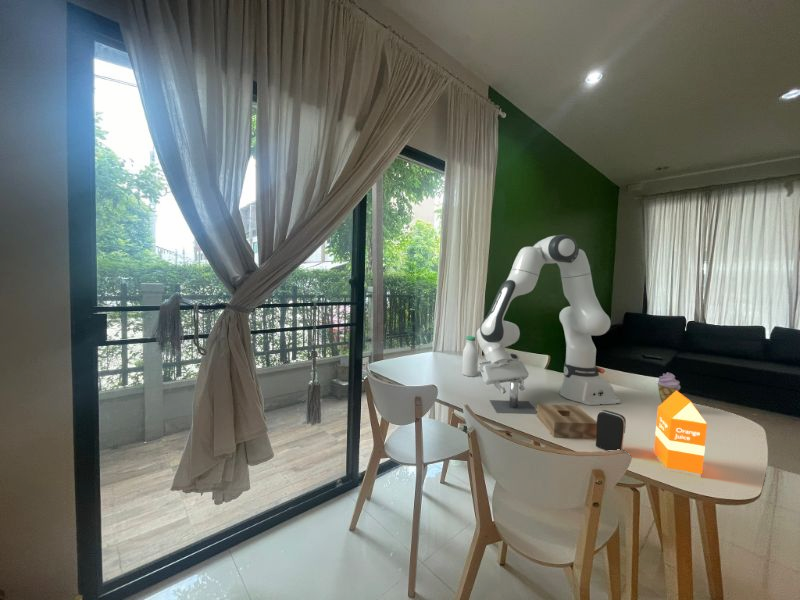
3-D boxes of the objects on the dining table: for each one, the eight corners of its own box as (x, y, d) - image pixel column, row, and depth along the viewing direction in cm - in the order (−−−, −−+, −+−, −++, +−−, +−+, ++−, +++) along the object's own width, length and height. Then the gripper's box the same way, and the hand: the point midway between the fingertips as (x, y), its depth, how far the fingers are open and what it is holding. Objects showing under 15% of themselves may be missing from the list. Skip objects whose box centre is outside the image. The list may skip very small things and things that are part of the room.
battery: (624, 451, 94) (627, 414, 93) (621, 456, 92) (624, 418, 91) (598, 442, 100) (600, 407, 99) (594, 446, 97) (596, 410, 96)
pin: (516, 405, 126) (517, 380, 125) (518, 408, 123) (519, 383, 122) (508, 405, 126) (509, 380, 125) (510, 408, 123) (511, 383, 122)
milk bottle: (478, 377, 161) (480, 338, 159) (463, 376, 161) (464, 338, 159) (475, 372, 168) (476, 335, 167) (460, 372, 169) (462, 335, 167)
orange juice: (665, 470, 86) (672, 398, 84) (653, 453, 94) (658, 387, 92) (702, 477, 83) (710, 403, 81) (686, 459, 91) (692, 391, 89)
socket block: (575, 418, 116) (576, 405, 115) (597, 438, 102) (598, 423, 101) (536, 417, 116) (537, 404, 116) (553, 437, 102) (554, 422, 102)
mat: (528, 402, 130) (528, 401, 130) (540, 415, 118) (540, 414, 118) (489, 401, 131) (489, 400, 131) (496, 413, 119) (496, 412, 119)
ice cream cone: (674, 409, 125) (678, 372, 124) (680, 415, 120) (684, 376, 119) (653, 406, 128) (656, 369, 127) (658, 411, 123) (661, 374, 121)
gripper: (480, 358, 126) (495, 390, 118) (521, 354, 134) (537, 384, 125) (473, 366, 131) (487, 398, 122) (513, 362, 138) (528, 391, 130)
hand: (513, 391), depth 124 cm, fingers open, 8 cm apart
